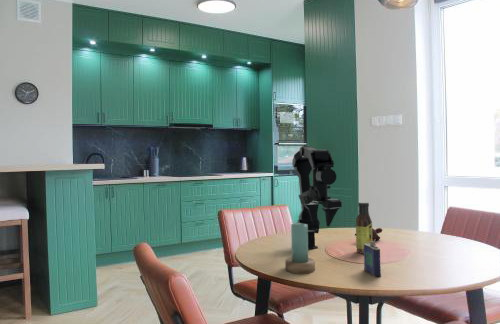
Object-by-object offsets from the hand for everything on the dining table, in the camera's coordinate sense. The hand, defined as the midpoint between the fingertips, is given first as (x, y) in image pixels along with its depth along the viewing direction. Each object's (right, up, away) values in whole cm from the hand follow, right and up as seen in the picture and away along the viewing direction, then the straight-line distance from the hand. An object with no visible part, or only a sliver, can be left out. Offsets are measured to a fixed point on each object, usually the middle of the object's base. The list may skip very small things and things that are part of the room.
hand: (320, 224), depth 150 cm
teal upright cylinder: (-9, -10, -13) cm, 19 cm away
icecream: (+26, -12, +28) cm, 41 cm away
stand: (-9, -13, -13) cm, 21 cm away
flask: (+14, -13, -19) cm, 27 cm away
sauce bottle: (+19, -13, +9) cm, 25 cm away
